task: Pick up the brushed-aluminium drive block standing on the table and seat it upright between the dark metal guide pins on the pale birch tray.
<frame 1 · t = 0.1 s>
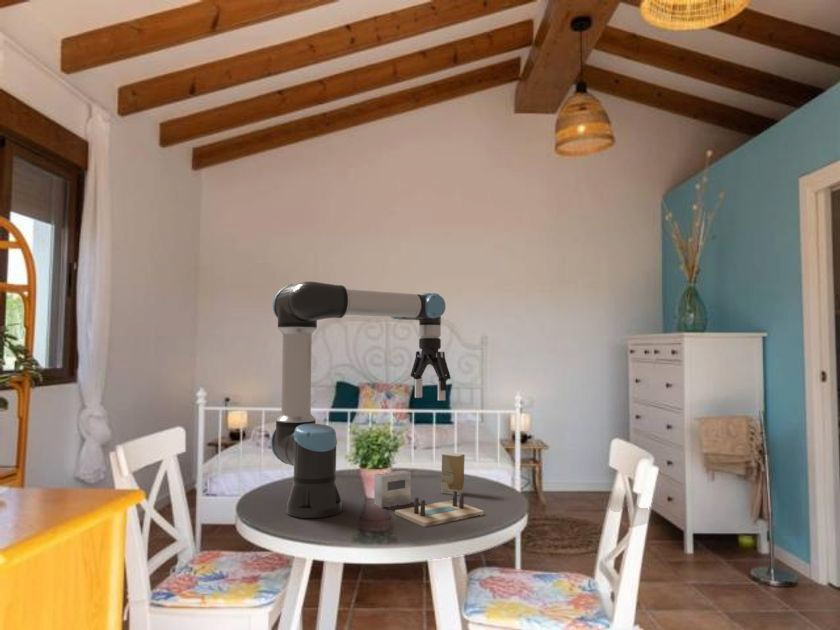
hand: (429, 399, 206), 28 cm above the table, tool pointing down, fingers open, 13 cm apart
skincare box: (452, 493, 187), on the table
pin tray: (439, 514, 163), on the table
drive: (392, 504, 173), on the table
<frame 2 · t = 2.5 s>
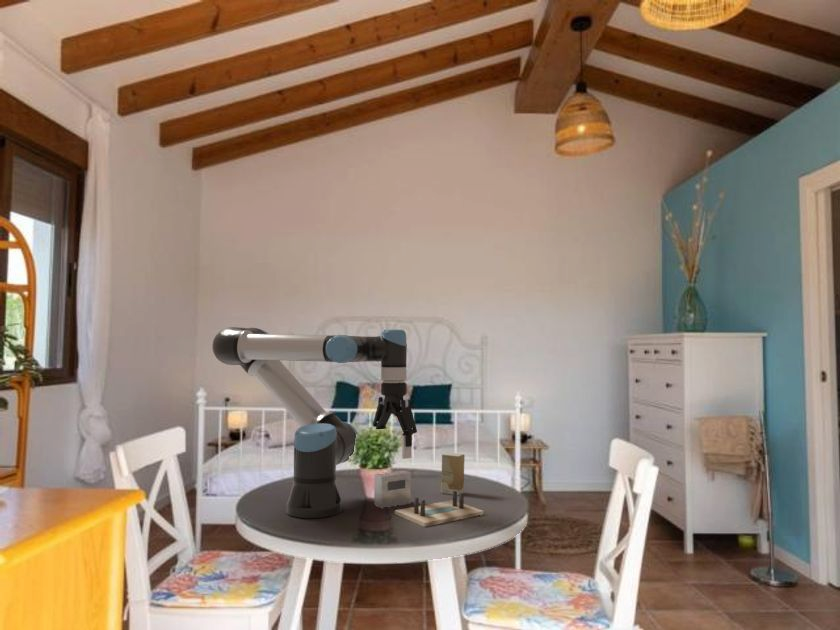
hand: (393, 454, 174), 14 cm above the table, tool pointing down, fingers open, 13 cm apart
nothing on the table moved.
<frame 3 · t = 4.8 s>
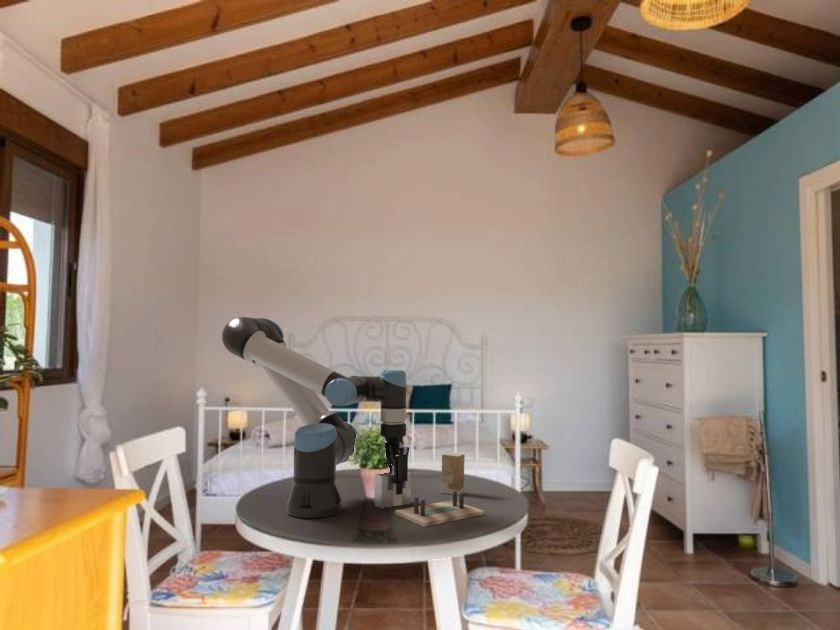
hand: (392, 503, 173), 0 cm above the table, tool pointing down, fingers closed on drive, 4 cm apart
drive: (392, 504, 173), on the table, touching gripper
everything else where it was.
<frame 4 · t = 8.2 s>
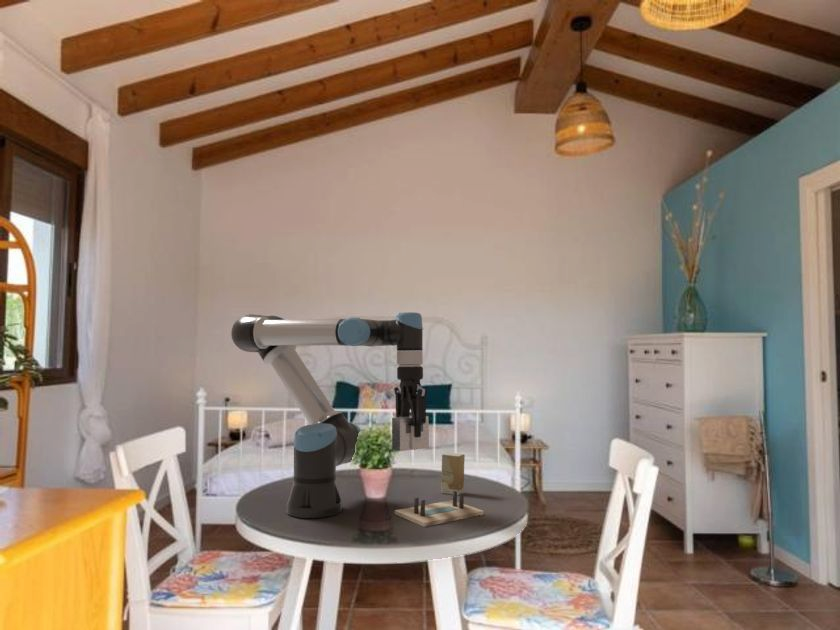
hand: (411, 447, 170), 17 cm above the table, tool pointing down, fingers closed on drive, 4 cm apart
drive: (410, 448, 170), point 17 cm above the table, touching gripper
everything else where it was.
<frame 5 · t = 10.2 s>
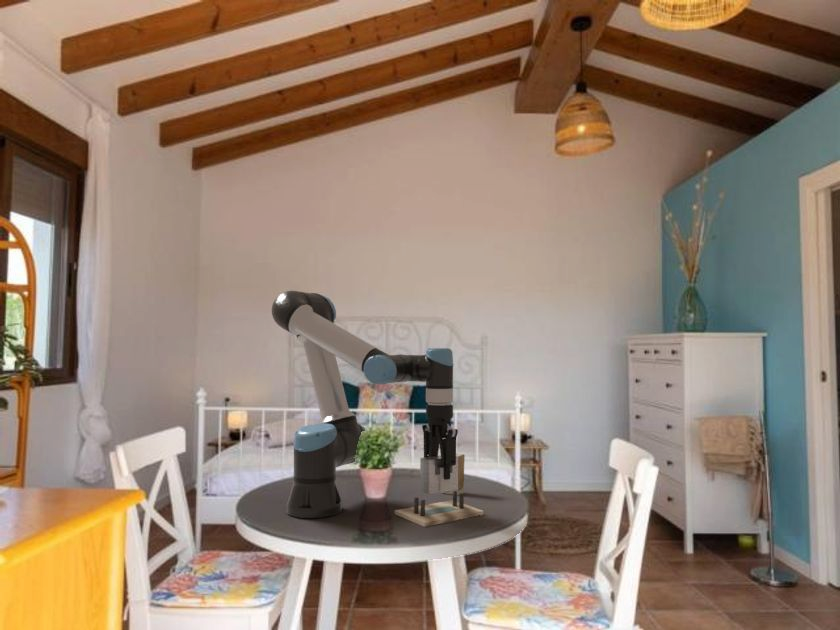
hand: (439, 489, 163), 7 cm above the table, tool pointing down, fingers closed on drive, 4 cm apart
drive: (439, 490, 163), point 7 cm above the table, touching gripper
everything else where it was.
when the fingers open (3 cm above the table, at t = 11.7 s): drive drops 1 cm, resting on pin tray.
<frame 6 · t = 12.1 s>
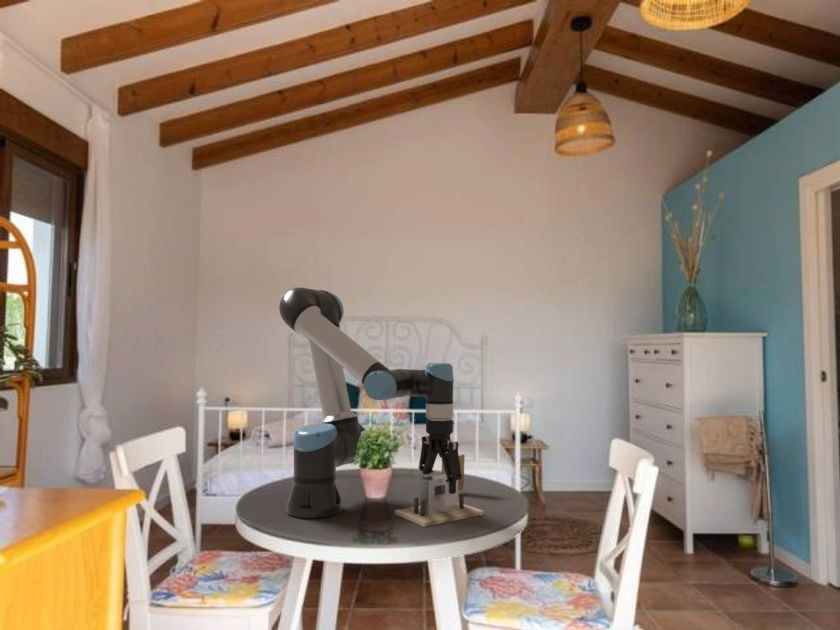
hand: (439, 501, 163), 4 cm above the table, tool pointing down, fingers open, 9 cm apart
drive: (439, 510, 163), point 1 cm above the table, touching pin tray
everything else where it was.
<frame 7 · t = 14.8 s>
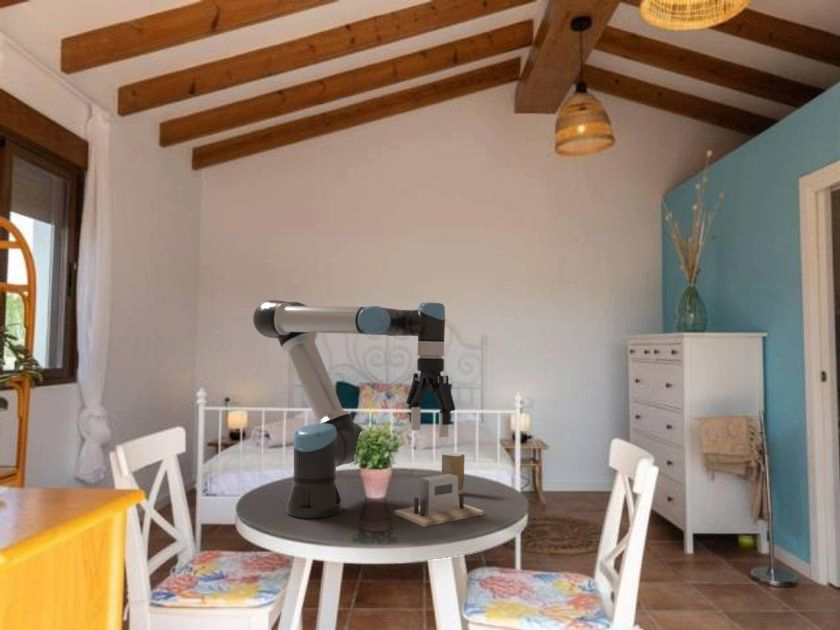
hand: (429, 433, 167), 22 cm above the table, tool pointing down, fingers open, 13 cm apart
nothing on the table moved.
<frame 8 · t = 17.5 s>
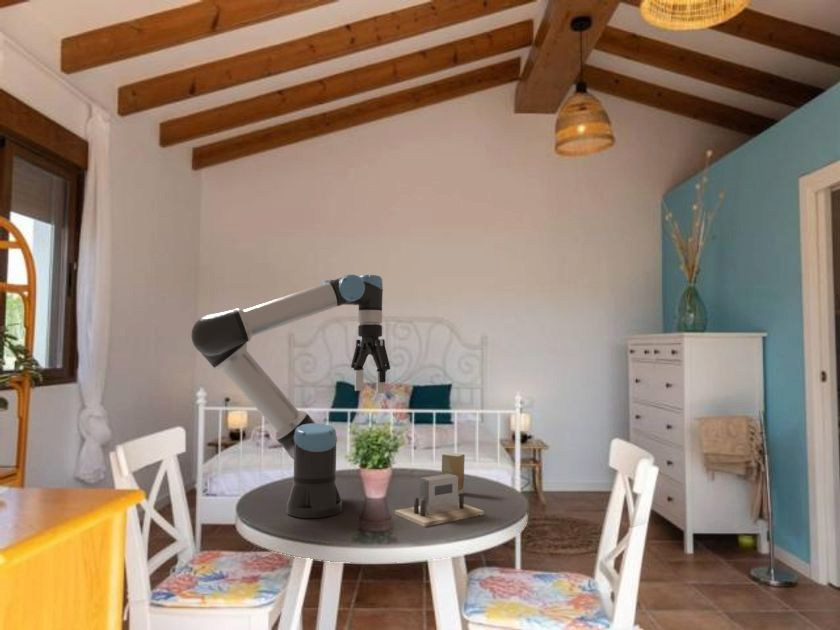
hand: (369, 391, 186), 32 cm above the table, tool pointing down, fingers open, 13 cm apart
nothing on the table moved.
at the end: drive 0.1 cm off-centre on the pin tray, point 1.1 cm above the pin tray's base; drive tilted 0°; the gripper is holding nothing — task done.
